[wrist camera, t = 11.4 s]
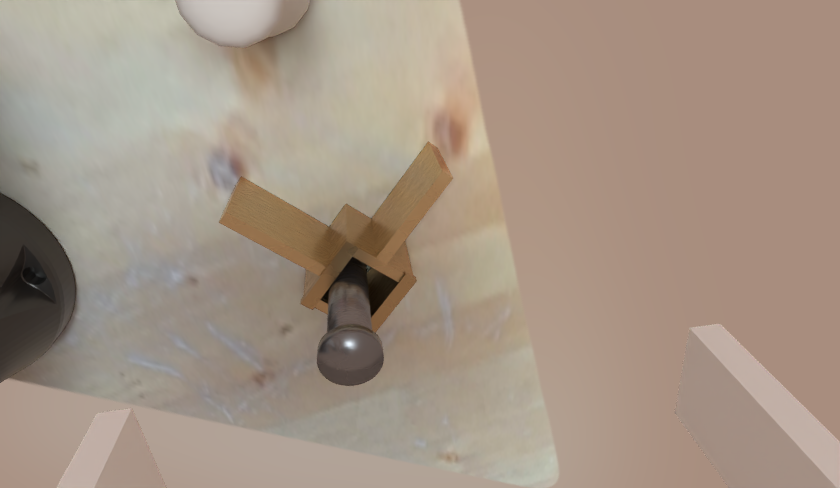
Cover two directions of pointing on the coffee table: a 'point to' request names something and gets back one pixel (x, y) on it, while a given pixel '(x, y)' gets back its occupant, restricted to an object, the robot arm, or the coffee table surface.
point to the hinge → (345, 234)
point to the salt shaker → (241, 19)
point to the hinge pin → (350, 330)
